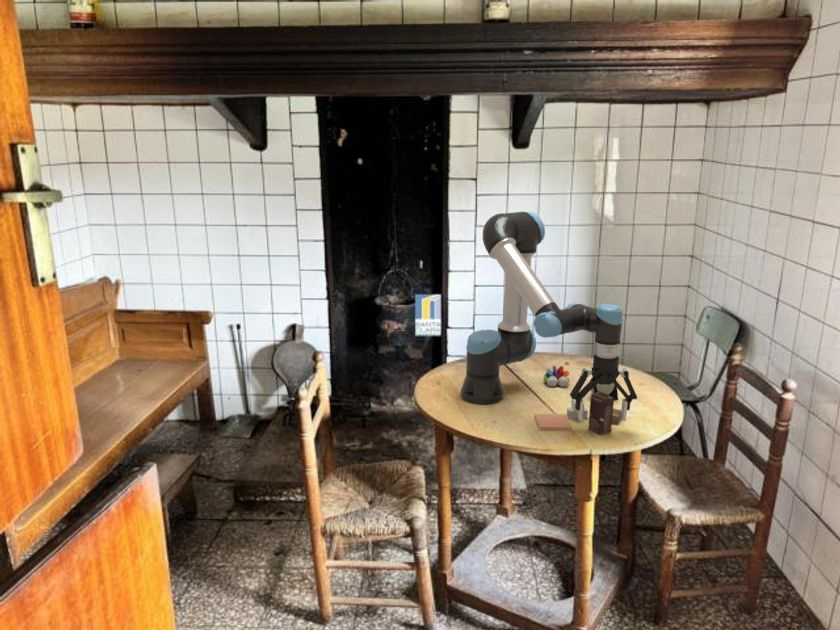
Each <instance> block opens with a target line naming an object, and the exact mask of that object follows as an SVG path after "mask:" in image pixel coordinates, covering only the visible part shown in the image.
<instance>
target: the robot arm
mask: <svg viewBox="0 0 840 630" xmlns="http://www.w3.org/2000/svg"><path fill="white" fill-rule="evenodd" d="M545 235H546V229H545V224H544V222H543V220H542V219H541V217H540V216H539V215H538V214H537V213H535V212H532V211H515V212H506V213H505V212H502V213H496V214H494V215H493V216H491V217H490V218H489V219H487V220H486V222H485V224H484V226H483V228H482V242H483V245H484V248H485V250H486V252H487V254H488V255H489V256H490V258H491V259H493V260H496V261H497V263H498V264H499V266H500V267H501V268H502V271H503V272H504V273H505V274H504V289H503V290H504V292H503V306H502V307H503V309H502V320H501V322H499V323H498V324H497V330H494V329H485V330H484V329H481V330H477V331H474V332H472V333H471V334H470V335H468V337H467V341H466V342H467V343H466V347H465V348H466V367H465V369H466V373H465V377H464V380H463V383H462V386H461V388H460V397H461V398H462V400H464V401H466V402H468V403H470V404H477V405H492V404H497V403H500V402H501V401H502V400H503V398H504V389H503V386H502V382H501V379H500V367H501V366H505V365H511V364H515V363H521V362H524V361H526V360H527V359H529V358H531V356H533V354H534V353H535V352H536V347H537V338H536V336H535V333H536V334H537V335H538V336H539V337H541V338H546V339H547V338H555V337H558V336H560V335H565V334H572V333H576V332H578V331H579V332H580V331H585V332H589V333H592V334H594V348H593V353H594V355H593V360H592V367H593V369H592V368H591V370H589V369H586V368H582V370H581V374H580V376H579V378H578V380H577V381H576V383H575V385H574V387H572V390H571V391H570V393H569V396H570V398H571V400H572V399H575V400H576V403H575V408H576V410H578V419H577V420H578V421H579V422H582V421H583V419H582V415H583V402H584V401H583V399H584V398H585V397H586V396H587V395H588V393H589V392H591V389H592V388H593V387H594V386H596V385H597V384H600V385H604V384H607V385H610V384H612V383H614V385H615V386H616V387H617V390H618V391H619V392H620V393H621V394H622V395H623V397H624V398H622V399H621V401H622V402H621V409H620V410H621V420H622V421H623V422H626V421H627V414H628V413H627V411H631V403H632V401H633V400H637V399H638V396H637V393H636V391H635V388H634V387H633V385H632V382H631V380H630V375H629V374H630V372H629V371H628V370H627V369H626V368H623V369H621V370H619V366H620V365H619V363H620V356H619V355H620V350H621V336H622V328H623V321H624V319H623V308H622V307H621V306H619V305H617V304H610V303H603V304H602V303H601V304H599V305H597V307H592V306H589V305H586V304H582V303H573V302H572V303H570V304H568V305H567V306H565V308H563V309H561V308H560V306H558V304H557V303H556V302H555V300H554V299H553V297H552V296H551V294H550V293H549V292H548V290H547V289H546V287H545V286H544V285H543V283H542V282H541V280H540V279H539V277H538V276H537V275H536V273H535V272H534V271H533V269H532V267H531V266H532V257H533V256H534V255H535V254H536V253H537V246H538V245H540V244H541V243H542V241H543V240H544V238H545ZM528 309H529V310H530V311H531V313H532V314H533V316H534V317H535V318H534V320H533V326H534V331H535V333H534V332H533V330H532V329H531V325H530V324H529V323H528ZM590 376H593V377H591V378H590V380H589V382H588V383H587V384H586V385H584V384H585V382H586V381H587V378H589V377H590ZM619 376H621V378H623V380H624V382H625V385H626V387H627V390H628V392H629V394H628V392H626V390H625V389H624V388H623V387H622V385H621V384H620V383H619V382H618V381H617V378H618V377H619ZM615 379H616V380H615ZM583 386H584V387H583ZM582 387H583V388H582Z"/></svg>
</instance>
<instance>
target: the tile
mask: <svg viewBox="0 0 840 630" xmlns="http://www.w3.org/2000/svg"><path fill="white" fill-rule="evenodd" d="M534 419H535V421H536V425H537V427H538V429H539V431H572V426H571V424H570V422H569V419H568V417H567V415H566V414H564V413H561V414H560V413H559V414H558V413H553V414H552V413H535V414H534Z"/></svg>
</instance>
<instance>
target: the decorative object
mask: <svg viewBox="0 0 840 630" xmlns="http://www.w3.org/2000/svg"><path fill="white" fill-rule="evenodd" d="M592 369H593V366H592V367H591V370H592ZM591 376H592V375H591ZM592 377H593V376H592ZM592 377H591V378H592ZM615 380H616V381H617V378H616V379H615ZM599 391H600V392H602V393H605V394H608V395H609V396H612V397H614V401H618V400H619V393H618V391H619V390H618V388H617V387H616V386H615V385H614V383H612V384H610V385H607V384H604V385H600V384H597V385H596V386H594V387H593V388H592V389H591V390H590V392H591V394H593V393H596V392H599Z"/></svg>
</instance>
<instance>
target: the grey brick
mask: <svg viewBox="0 0 840 630" xmlns="http://www.w3.org/2000/svg"><path fill="white" fill-rule="evenodd" d="M566 409H567V410H566V417H567V419H568V420H579V419H578V413H574V410H573V408H572V406H571V407H566ZM588 413H589V411H588V409H587V408H586V407H585V406H584V413H583V415H582V420H585V419H586V420H587V419H588V416H589V414H588Z"/></svg>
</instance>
